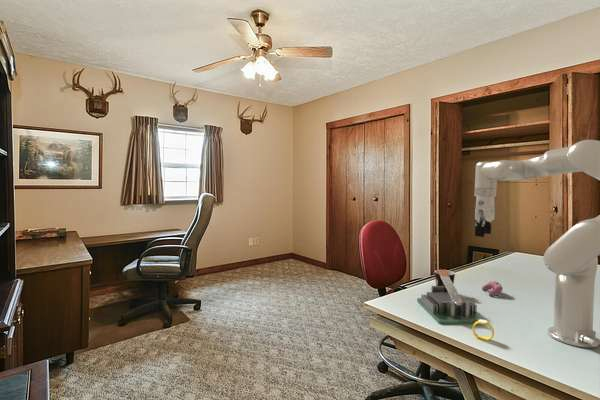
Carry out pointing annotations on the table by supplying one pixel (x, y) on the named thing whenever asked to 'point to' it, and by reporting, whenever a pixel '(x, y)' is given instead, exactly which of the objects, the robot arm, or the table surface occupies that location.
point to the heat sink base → (452, 320)
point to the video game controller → (493, 288)
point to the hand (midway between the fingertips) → (483, 234)
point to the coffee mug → (439, 280)
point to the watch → (483, 324)
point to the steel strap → (450, 288)
